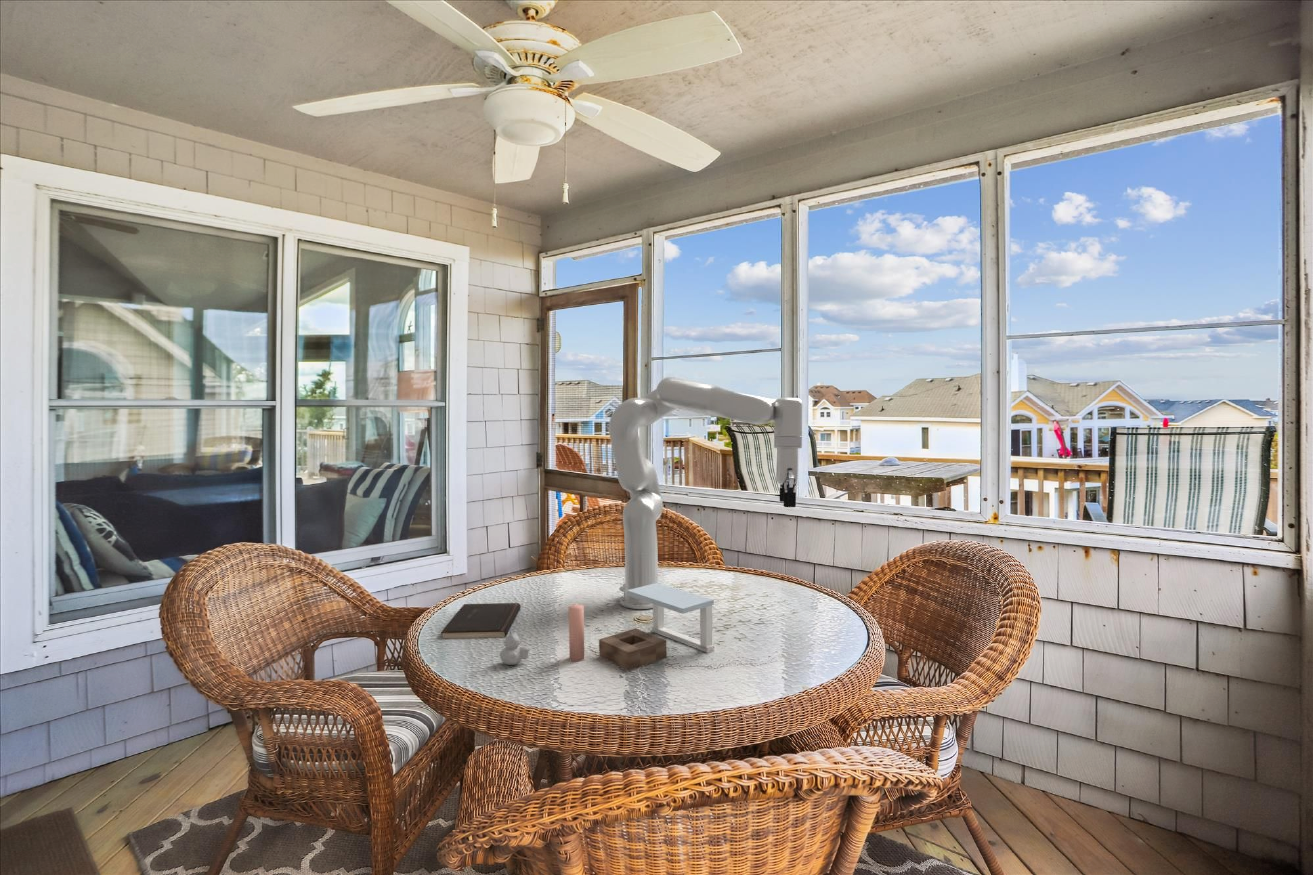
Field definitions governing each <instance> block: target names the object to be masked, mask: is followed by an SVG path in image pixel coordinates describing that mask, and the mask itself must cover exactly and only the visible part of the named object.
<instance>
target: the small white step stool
mask: <svg viewBox="0 0 1313 875" xmlns="http://www.w3.org/2000/svg"><path fill="white" fill-rule="evenodd" d="M627 595H628V596H631V597H634V598H637V599H640V600H643V601H646V602H649V603H652V604H653V608H652V626H651V632H652V631H653V633H655V634H658V635H661V636H664V637H666V638H668V639H671V640H673V641H676V642H679V643H682V644H684V645H686V646H689V647H691V646H692V648H695V649H696V648H697V649H696V650H699V651H703V652H705V653H707V652H708V653H707V654H709V653H712V652H714V651H715V646H714V645H713V606H714V602H715V601H714V599H712V598H710V597H705V596H702V595H700V594H696V593H693V592H688V591H686V590H682V589H678V588H676V587H672V586H670V585H666V584H662V583H659V582H658V583H655V584H651V585H647V586H642V587H638V588H634V589H630V590H627ZM665 609H667V610H670V611H672V612H673V611H674V612H677V613H679V614H682V615H683V614H687V613H691V612H693V611H697V610H698V611H699V614H700V615H699V618H700V619H699V620H700V621H699V622H700V623H699V629H700V630H699V634H700V635H699V636H700V637H699V639H700V640H699V639H697V638H694V637H691V636H689V635H686V634H683V633H680V632H678V631H675V630H672V629H669V628H667V627H665Z"/></svg>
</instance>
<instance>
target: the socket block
mask: <svg viewBox="0 0 1313 875" xmlns="http://www.w3.org/2000/svg"><path fill="white" fill-rule="evenodd" d="M598 643H599V644H598V648H599V649H598V651H599V652H598V654H599V655H598V657H600V658H602V659H604V660H605V661H608V662H610V663H612V664H615V665H616V666H619V667H620V668H622V669H625V670H627V671H632V670H635V669H638V668H641V667H644V666H647V665H650V664H652V663H654V662H655V663H656V662H658V661H660V660H664V659H666V658H668V657H667V640H666V639H664V638H661V637H659V636H656V635H654V634H651V633H649V632H647V631H643V630H640V629H638V628H633V629H632V628H631V629H629V630H626V631H623V632H619V633H616V634H613V635H608V636H606V637H603V638H599V639H598Z"/></svg>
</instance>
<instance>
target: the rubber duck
mask: <svg viewBox="0 0 1313 875" xmlns="http://www.w3.org/2000/svg"><path fill="white" fill-rule="evenodd" d="M505 638H506V639H505V640H504V641H503V644H504V648H503V649H501V651H500V653H499V657H500V660H501V661H502V663H503V664H505V665H509V666H513V665H514V666H515V665H517V664H519V663H521V661H522V660H527V659H528V658H530V657H529V652H530V647H529V646H526V645H524V646H521V645H520V644H521V639H520V638H519V635H517V633H516V632H515V631H512V629H511V628H510V629H509V634H507V635H506V637H505Z"/></svg>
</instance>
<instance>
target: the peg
mask: <svg viewBox="0 0 1313 875" xmlns="http://www.w3.org/2000/svg"><path fill="white" fill-rule="evenodd" d="M568 635H569V636H568V638H569V639H568V640H569V641H568V642H569V643H568V644H569V646H568V647H569V650H568V651H569V652H568V653H569V654H568V655H569V656H568V657H569V661H571V662H581V661H583V660H585V606H584V605H583V604H573V605H572V604H571V605H569V606H568Z"/></svg>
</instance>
